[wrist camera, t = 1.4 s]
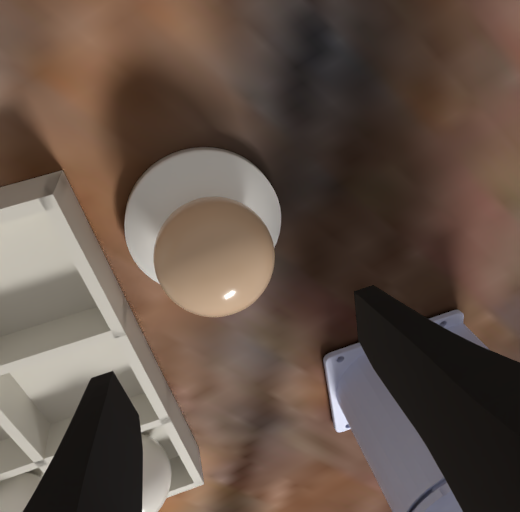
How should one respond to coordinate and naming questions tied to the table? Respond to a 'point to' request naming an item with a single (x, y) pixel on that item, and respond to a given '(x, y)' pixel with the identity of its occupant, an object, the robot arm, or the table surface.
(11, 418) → the egg carton
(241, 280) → the brown egg
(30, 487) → the white egg
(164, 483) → the white egg
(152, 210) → the saucer
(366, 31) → the table surface
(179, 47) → the table surface
